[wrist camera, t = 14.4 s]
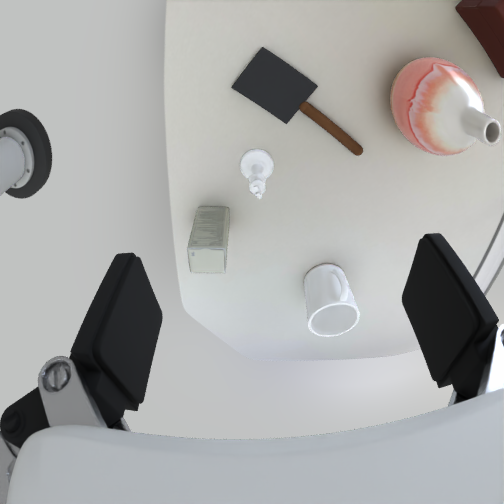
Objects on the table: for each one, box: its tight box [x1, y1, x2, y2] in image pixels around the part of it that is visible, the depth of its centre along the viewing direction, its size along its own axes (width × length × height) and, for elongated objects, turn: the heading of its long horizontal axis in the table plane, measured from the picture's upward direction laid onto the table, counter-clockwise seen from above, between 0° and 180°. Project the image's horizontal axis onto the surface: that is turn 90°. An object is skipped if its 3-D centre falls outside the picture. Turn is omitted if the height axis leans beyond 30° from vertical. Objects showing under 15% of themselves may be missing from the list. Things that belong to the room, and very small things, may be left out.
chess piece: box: [240, 149, 274, 199], centre depth 38 cm, size 5×5×10 cm
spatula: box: [232, 47, 363, 156], centre depth 36 cm, size 20×7×2 cm, turn 55°
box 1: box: [187, 207, 229, 273], centre depth 43 cm, size 5×4×11 cm
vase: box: [390, 57, 501, 156], centre depth 27 cm, size 14×14×18 cm
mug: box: [304, 264, 360, 337], centre depth 51 cm, size 11×9×10 cm
